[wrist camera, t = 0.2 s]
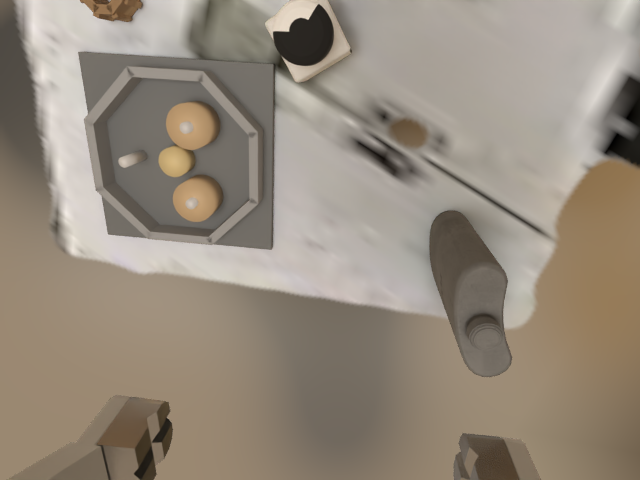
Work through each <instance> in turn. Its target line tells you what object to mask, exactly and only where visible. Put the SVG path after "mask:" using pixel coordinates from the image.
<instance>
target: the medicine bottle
mask: <svg viewBox="0 0 640 480" xmlns="http://www.w3.org/2000/svg"><path fill="white" fill-rule="evenodd" d="M265 25H266V28H267V29H268V31H269V33H270V35H271V37H272V39H273V41H274V43H275V46H276V48H277V50H278V51H279V53H280V54H281V56H282V58H283V59H284V61H285V63H286V65H287V67H288V69H289V71H290V73H291V74H292V76H293V78H294V80H295V81H296V82H304V81H307V80H309V79H310V78H312V77H314V76H315V75H317V74H318V73H320V72H322V71H323V70H325V69H327V68H328V67H330V66H332V65H333V64H335V63H337V62H338V61H340V60H342V59H343V58H345V57H347V56H348V55H350V54H351V52H352V51H351V48H350V46H349V44H348V42H347V40H346V37H345V35H344V33H343V31H342V29H341V27H340V25H339V23H338V21H337V19H336V17H335V14H334V12H333V10H332V8H331V6H330V4H329V2H328V0H291V1H289V2H288V3H286V4H285V5H284V6H283V7H282V8H281V9H280V10H279V12H278V13H277V14H276V15H275V16H273V17H272V18H270V19H269V20H267V21H266V23H265Z"/></svg>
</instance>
